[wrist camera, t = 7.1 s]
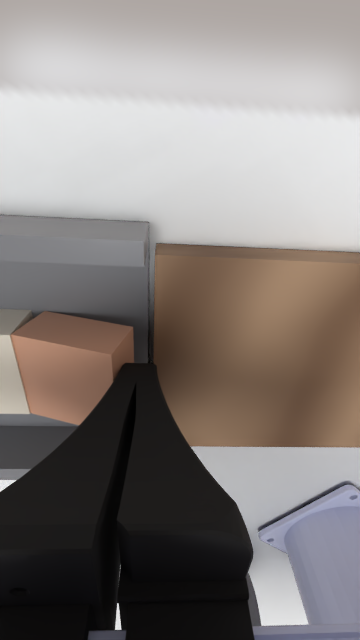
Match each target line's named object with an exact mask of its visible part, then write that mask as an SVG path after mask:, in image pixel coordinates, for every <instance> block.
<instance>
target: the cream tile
mask: <svg viewBox="0 0 360 640" xmlns="http://www.w3.org/2000/svg"><path fill="white" fill-rule="evenodd" d="M32 319H33V316H32V312H31V310H17V309H0V414H30V413H31V412H30V408H29V404H28V400H27V396H26V393H25V389H24V385H23V381H22V377H21V373H20V369H19V365H18V361H17V357H16V354H15V350H14V346H13V342H12V338H11V334H12V333H14V332H15V331H16V330H18V329H19V328H21V327H22V326H24V325H25V324H27V323H28V322H29V321H31V320H32Z"/></svg>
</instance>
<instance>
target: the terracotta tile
mask: <svg viewBox="0 0 360 640" xmlns="http://www.w3.org/2000/svg"><path fill="white" fill-rule="evenodd" d="M11 338H12V342H13V346H14V350H15V354H16V357H17V361H18V365H19V369H20V373H21V377H22V381H23V385H24V389H25V393H26V396H27V400H28V404H29V408H30V412H31V413H32V414H36V415H40V416H44V417H48V418H52V419H56V420H60V421H64V422H68V423H72V424H76V425H80V424H81V423H82V422H83V421H84V419H85V418H86V417H87V416H88V415H89V414H90V412H91V411H92V410H93V409H94V407H95V406H96V405H97V404H98V402H99V401H100V400H101V399H102V397H103V396H104V394H105V393H106V392H107V390H108V389H109V387H110V386H111V384H112V383H113V381H114V380H115V378H116V377H117V375H118V373H119V371H120V370H121V368H122V366H123V365H124V364H125V363H134V340H133V327H131V326H125V325H120V324H114V323H109V322H103V321H98V320H92V319H87V318H81V317H76V316H70V315H65V314H59V313H53V312H48V311H44V312H42V313H41V314H39V315H38V316H37V317H35V318H34V319H32V320H31V321H29V322H28V323H27V324H25V325H24V326H22V327H21V328H19V329H18V330H16V331H15V332H14V333H12V334H11Z"/></svg>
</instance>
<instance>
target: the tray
mask: <svg viewBox="0 0 360 640" xmlns="http://www.w3.org/2000/svg"><path fill="white" fill-rule="evenodd" d="M0 309H17V310H31V312H32V316H33V319H34V318H35V317H37V316H38V315H39V314H41V313H42V312H44V311H48V312H53V313H59V314H65V315H70V316H76V317H81V318H87V319H92V320H98V321H103V322H109V323H114V324H120V325H125V326H131V327H133V340H134V363H148V312H149V222H136V221H116V220H96V219H75V218H55V217H35V216H15V215H0ZM78 426H79V425H76V424H72V423H68V422H64V421H60V420H56V419H52V418H48V417H44V416H40V415H36V414H32V413H30V414H0V480H18V479H19V478H21V477H22V476H23V475H25V474H26V473H27V472H28V471H29V470H31V469H32V468H33V467H34V466H36V465H37V464H38V463H39V462H41V461H42V460H43V459H44V458H46V457H47V456H48V455H49V454H50V453H51V452H52V451H54V450H55V449H56V448H57V447H58V446H59V445H60V444H61V443H62V442H63V441H64V440H65V439H66V438H67V437H68V436H69V435H70V434H71V433H72V432H73V431H74V430H75V429H76V428H77V427H78Z"/></svg>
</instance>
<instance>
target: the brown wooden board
mask: <svg viewBox="0 0 360 640" xmlns="http://www.w3.org/2000/svg"><path fill="white" fill-rule="evenodd" d="M153 363H154V364H155V365H156V366H157V374H158V379H159V382H160V386H161V389H162V392H163V394H164V397H165V400H166V402H167V405H168V407H169V409H170V411H171V413H172V416H173V418H174V420H175V422H176V424H177V425H178V427H179V429H180V431H181V432H182V434H183V436H184V438H185V439H186V441H187V442H188V444H189V446H229V447H360V253H356V252H334V251H312V250H290V249H268V248H246V247H224V246H202V245H180V244H158V243H156V251H155V292H154V357H153Z"/></svg>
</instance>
